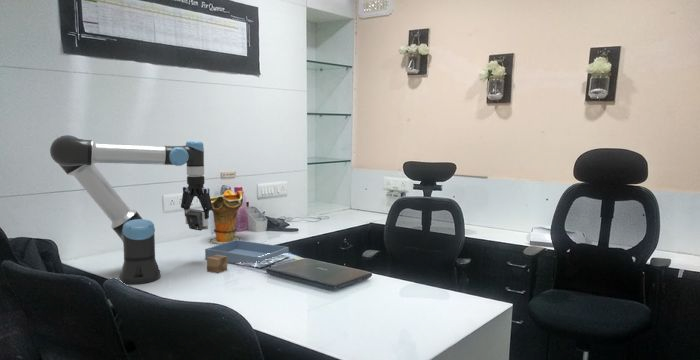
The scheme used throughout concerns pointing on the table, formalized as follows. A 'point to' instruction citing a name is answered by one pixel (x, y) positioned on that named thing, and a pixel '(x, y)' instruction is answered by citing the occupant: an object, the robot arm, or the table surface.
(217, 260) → the walnut cube
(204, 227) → the electrical switch
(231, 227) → the decorative vase
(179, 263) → the table surface
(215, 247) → the tray
